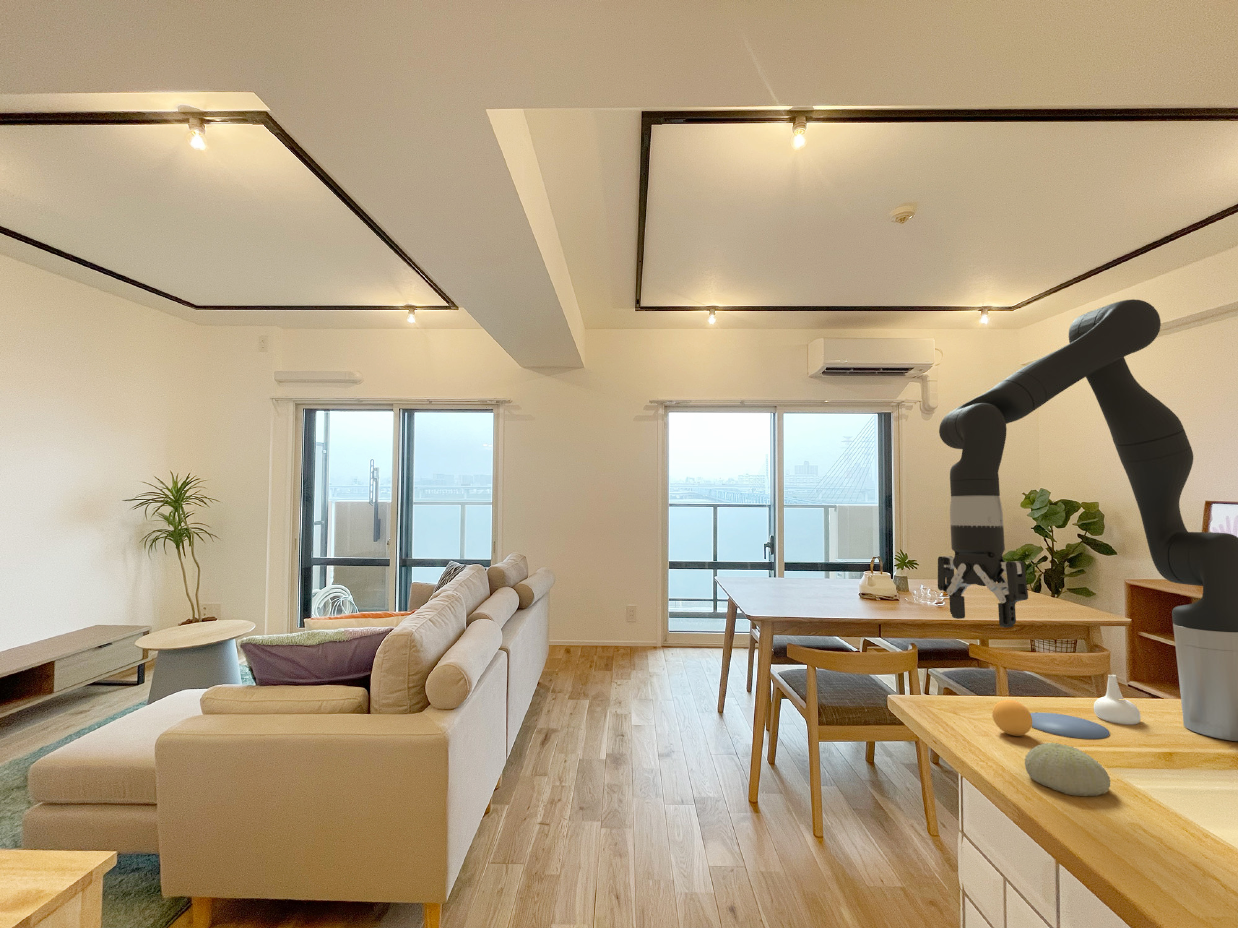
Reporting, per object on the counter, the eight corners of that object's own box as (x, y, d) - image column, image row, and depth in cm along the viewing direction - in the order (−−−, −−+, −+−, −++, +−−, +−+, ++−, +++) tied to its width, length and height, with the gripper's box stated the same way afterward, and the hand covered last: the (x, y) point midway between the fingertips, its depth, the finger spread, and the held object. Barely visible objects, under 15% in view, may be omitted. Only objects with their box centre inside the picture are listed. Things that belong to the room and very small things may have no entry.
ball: (1009, 726, 97) (1007, 693, 98) (1041, 738, 92) (1039, 703, 93) (985, 730, 96) (983, 697, 96) (1017, 742, 90) (1014, 707, 91)
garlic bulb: (1135, 720, 101) (1130, 673, 103) (1146, 728, 96) (1140, 679, 97) (1091, 714, 104) (1086, 669, 106) (1099, 722, 99) (1094, 674, 100)
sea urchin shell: (1098, 761, 79) (1104, 733, 75) (1112, 821, 74) (1119, 795, 70) (1020, 748, 84) (1021, 721, 80) (1027, 804, 79) (1029, 778, 74)
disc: (1052, 710, 105) (1052, 709, 105) (1127, 733, 94) (1127, 732, 94) (1005, 718, 101) (1005, 716, 101) (1077, 743, 90) (1077, 741, 90)
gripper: (1035, 524, 88) (1042, 629, 87) (955, 523, 102) (960, 614, 100) (1000, 523, 86) (1006, 631, 84) (923, 523, 100) (927, 616, 98)
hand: (981, 622), depth 92 cm, fingers open, 8 cm apart
